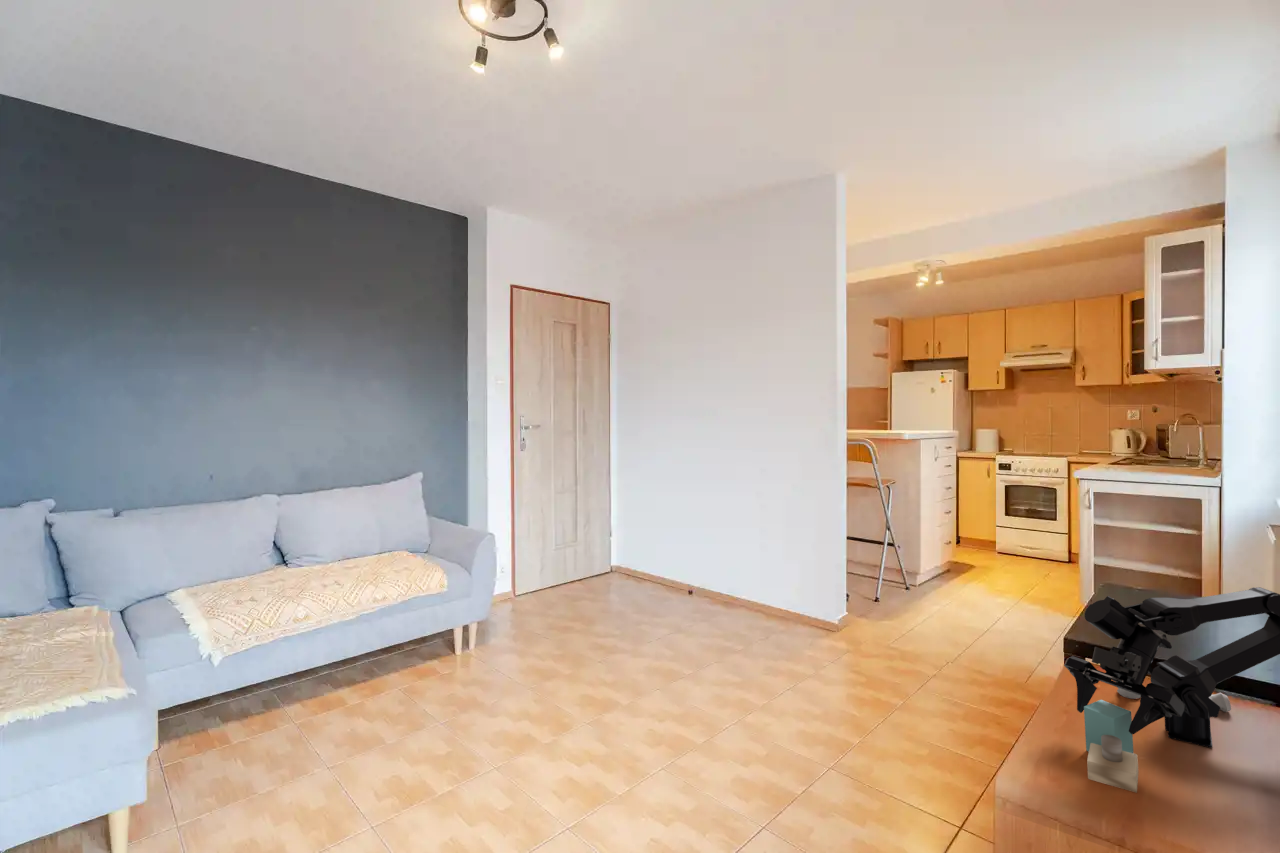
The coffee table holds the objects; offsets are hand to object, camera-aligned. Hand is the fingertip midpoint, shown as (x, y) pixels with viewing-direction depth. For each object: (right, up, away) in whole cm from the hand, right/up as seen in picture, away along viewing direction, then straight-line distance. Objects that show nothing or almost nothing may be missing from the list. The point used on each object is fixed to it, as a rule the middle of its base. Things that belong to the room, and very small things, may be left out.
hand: (1103, 721), depth 117 cm
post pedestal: (-3, -7, -6) cm, 10 cm away
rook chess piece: (+22, -4, +21) cm, 31 cm away
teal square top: (+2, -7, +1) cm, 7 cm away
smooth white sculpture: (+32, -4, +13) cm, 35 cm away
